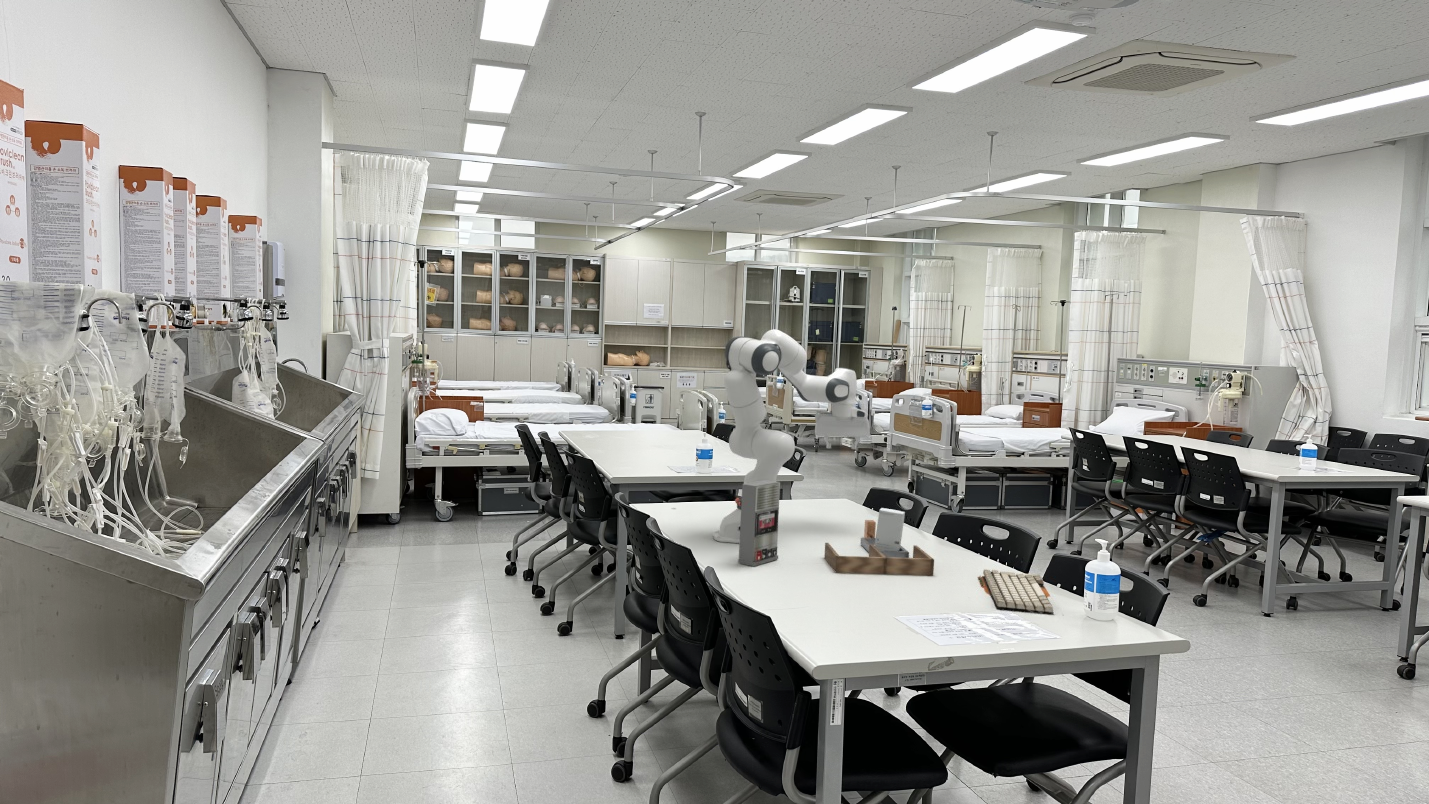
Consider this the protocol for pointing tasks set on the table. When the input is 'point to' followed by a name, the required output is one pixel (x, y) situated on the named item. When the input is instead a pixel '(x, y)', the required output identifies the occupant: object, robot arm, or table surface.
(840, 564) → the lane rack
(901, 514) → the skincare box
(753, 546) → the cassette tape recorder
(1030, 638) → the table surface
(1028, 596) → the mechanical keyboard
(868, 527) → the pull frame
